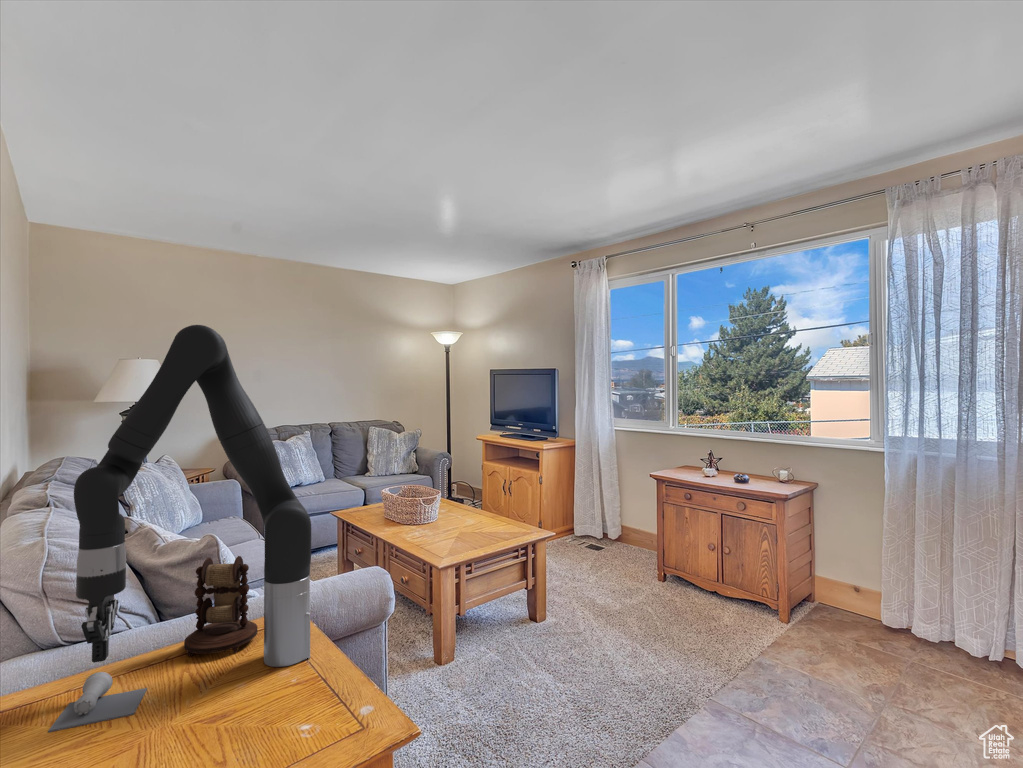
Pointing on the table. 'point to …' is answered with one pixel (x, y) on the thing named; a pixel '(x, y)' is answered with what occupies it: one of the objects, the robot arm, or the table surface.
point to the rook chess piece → (93, 692)
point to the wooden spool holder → (221, 609)
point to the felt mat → (101, 710)
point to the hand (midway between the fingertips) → (100, 659)
